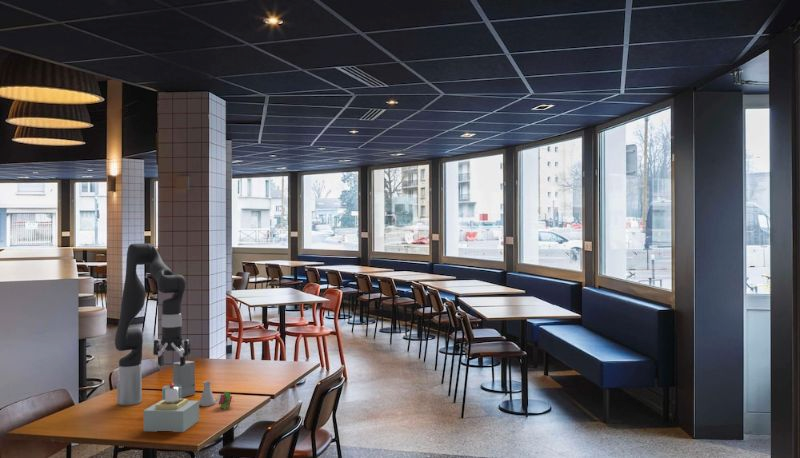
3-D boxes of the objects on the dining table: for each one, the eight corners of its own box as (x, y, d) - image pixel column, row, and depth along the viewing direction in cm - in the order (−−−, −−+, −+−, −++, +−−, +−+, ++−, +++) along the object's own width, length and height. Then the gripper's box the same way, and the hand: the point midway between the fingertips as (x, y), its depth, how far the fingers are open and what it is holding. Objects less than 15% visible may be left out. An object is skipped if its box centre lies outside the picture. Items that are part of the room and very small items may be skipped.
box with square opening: (143, 431, 224) (143, 406, 224) (161, 419, 238) (161, 396, 238) (183, 432, 223) (183, 407, 223) (199, 420, 237) (199, 397, 237)
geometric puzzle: (229, 398, 261) (220, 386, 257) (240, 400, 257) (231, 388, 253) (219, 411, 256) (210, 399, 252) (230, 413, 252) (221, 401, 248)
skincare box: (180, 398, 268) (179, 364, 268) (171, 396, 272) (171, 362, 273) (196, 394, 275) (196, 361, 275) (187, 392, 279) (187, 359, 279)
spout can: (162, 412, 228) (162, 385, 228) (168, 408, 233) (168, 382, 233) (175, 412, 228) (174, 385, 228) (180, 408, 233) (180, 382, 233)
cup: (163, 413, 246) (163, 390, 246) (161, 408, 253) (161, 385, 253) (182, 410, 250) (182, 387, 250) (180, 406, 257) (180, 383, 257)
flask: (210, 407, 255) (210, 384, 255) (195, 406, 256) (195, 383, 257) (218, 402, 262) (218, 380, 262) (204, 401, 264) (204, 379, 264)
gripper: (149, 326, 228) (149, 367, 228) (184, 326, 227) (184, 368, 226) (159, 323, 235) (159, 363, 235) (193, 323, 234) (193, 363, 234)
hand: (171, 365), depth 231 cm, fingers open, 8 cm apart
